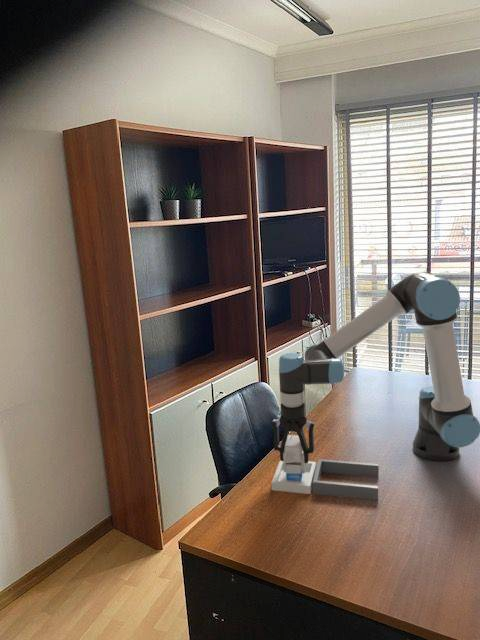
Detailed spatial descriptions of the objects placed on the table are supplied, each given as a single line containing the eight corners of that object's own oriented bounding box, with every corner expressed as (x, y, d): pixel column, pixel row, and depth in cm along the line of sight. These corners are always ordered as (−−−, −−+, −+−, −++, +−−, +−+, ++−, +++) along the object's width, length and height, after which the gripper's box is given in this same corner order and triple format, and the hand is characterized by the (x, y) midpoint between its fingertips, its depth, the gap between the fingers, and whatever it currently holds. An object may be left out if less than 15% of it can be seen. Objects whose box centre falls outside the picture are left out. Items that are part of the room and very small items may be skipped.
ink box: (301, 481, 160) (300, 447, 157) (285, 480, 161) (284, 446, 158) (303, 467, 168) (302, 434, 165) (288, 466, 169) (287, 434, 166)
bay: (378, 475, 164) (378, 464, 164) (378, 500, 151) (378, 488, 150) (318, 470, 170) (318, 459, 169) (313, 493, 156) (312, 482, 155)
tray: (316, 469, 170) (316, 461, 169) (310, 494, 156) (310, 486, 155) (280, 466, 173) (280, 458, 173) (271, 490, 159) (271, 482, 159)
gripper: (323, 399, 160) (324, 467, 165) (266, 396, 165) (269, 462, 170) (320, 409, 153) (321, 479, 158) (261, 406, 158) (264, 474, 163)
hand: (294, 470), depth 164 cm, fingers closed on ink box, 5 cm apart
